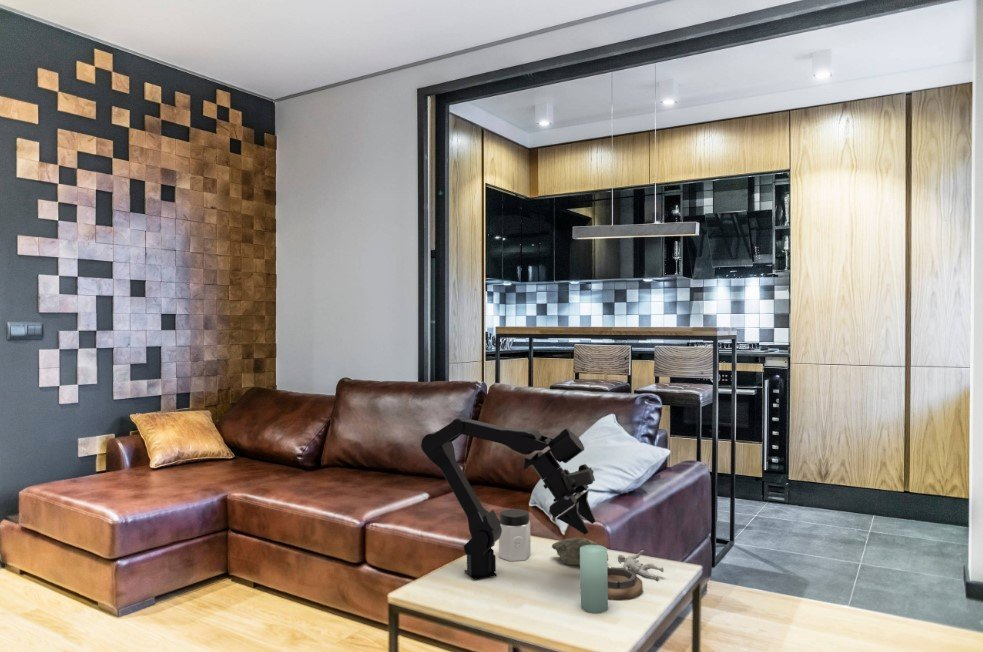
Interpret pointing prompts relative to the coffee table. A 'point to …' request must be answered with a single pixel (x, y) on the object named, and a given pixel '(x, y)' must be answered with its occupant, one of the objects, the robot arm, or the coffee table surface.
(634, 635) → the coffee table surface
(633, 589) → the segmented ring tray
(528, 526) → the jar
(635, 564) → the soldier figure
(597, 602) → the column
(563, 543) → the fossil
